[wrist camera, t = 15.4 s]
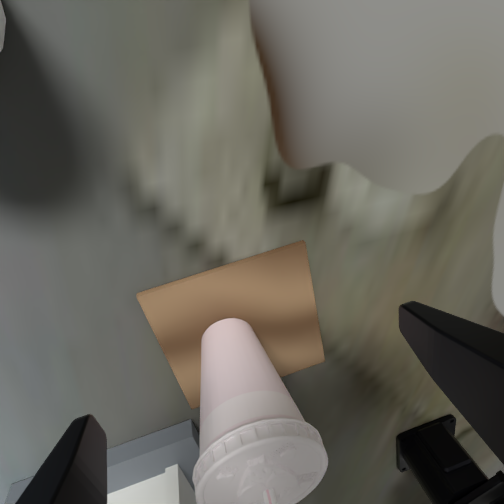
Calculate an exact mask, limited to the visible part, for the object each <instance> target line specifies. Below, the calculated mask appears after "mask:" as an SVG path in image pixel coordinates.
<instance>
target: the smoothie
mask: <svg viewBox="0 0 504 504" xmlns="http://www.w3.org/2000/svg"><path fill="white" fill-rule="evenodd" d="M327 466H328V456H327V453H326V450H325V448H324V446H323V443H322V438H321V436H320V434H319V432H318V430H317V429H315V428H314V427H313V426H312V425H310V424H309V423H307V422H305V420H304V418H303V417H302V415H301V413H300V411H299V409H298V407H297V406H296V404H295V402H294V401H293V399H292V397H291V396H290V394H289V392H288V390H287V389H286V387H285V385H284V383H283V382H282V380H281V378H280V376H279V375H278V373H277V371H276V369H275V368H274V366H273V364H272V362H271V361H270V359H269V357H268V355H267V354H266V352H265V350H264V348H263V347H262V345H261V343H260V341H259V340H258V338H257V336H256V334H255V333H254V331H253V329H252V327H251V326H250V325H249V324H248V323H247V322H245V321H243V320H241V319H237V318H228V319H223V320H220V321H217V322H215V323H214V324H212V325H211V326H210V327H209V328H207V330H206V331H205V332H204V334H203V336H202V340H201V394H200V457H199V459H198V461H197V463H196V464H195V466H194V470H193V477H192V480H193V483H194V486H195V496H196V502H197V504H296V503H297V502H299V501H300V500H302V499H303V498H304V497H306V496H307V495H308V494H309V493H310V492H311V491H312V490H314V489H315V488H316V486H317V485H318V484H319V483H320V481H321V480H322V478H323V476H324V474H325V473H326V470H327Z"/></svg>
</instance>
